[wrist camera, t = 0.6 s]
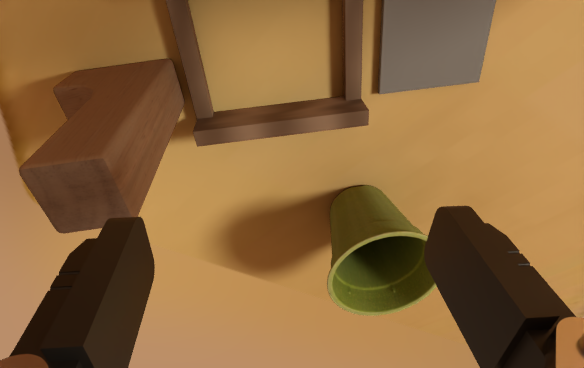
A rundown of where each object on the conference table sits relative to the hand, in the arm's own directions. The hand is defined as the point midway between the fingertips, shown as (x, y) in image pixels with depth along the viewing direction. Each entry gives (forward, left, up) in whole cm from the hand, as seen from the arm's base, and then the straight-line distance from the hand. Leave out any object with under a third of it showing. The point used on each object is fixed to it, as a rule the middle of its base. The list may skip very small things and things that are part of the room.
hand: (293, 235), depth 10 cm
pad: (-15, +1, -26) cm, 31 cm away
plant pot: (-9, +21, -27) cm, 35 cm away
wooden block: (+13, +3, -27) cm, 30 cm away
